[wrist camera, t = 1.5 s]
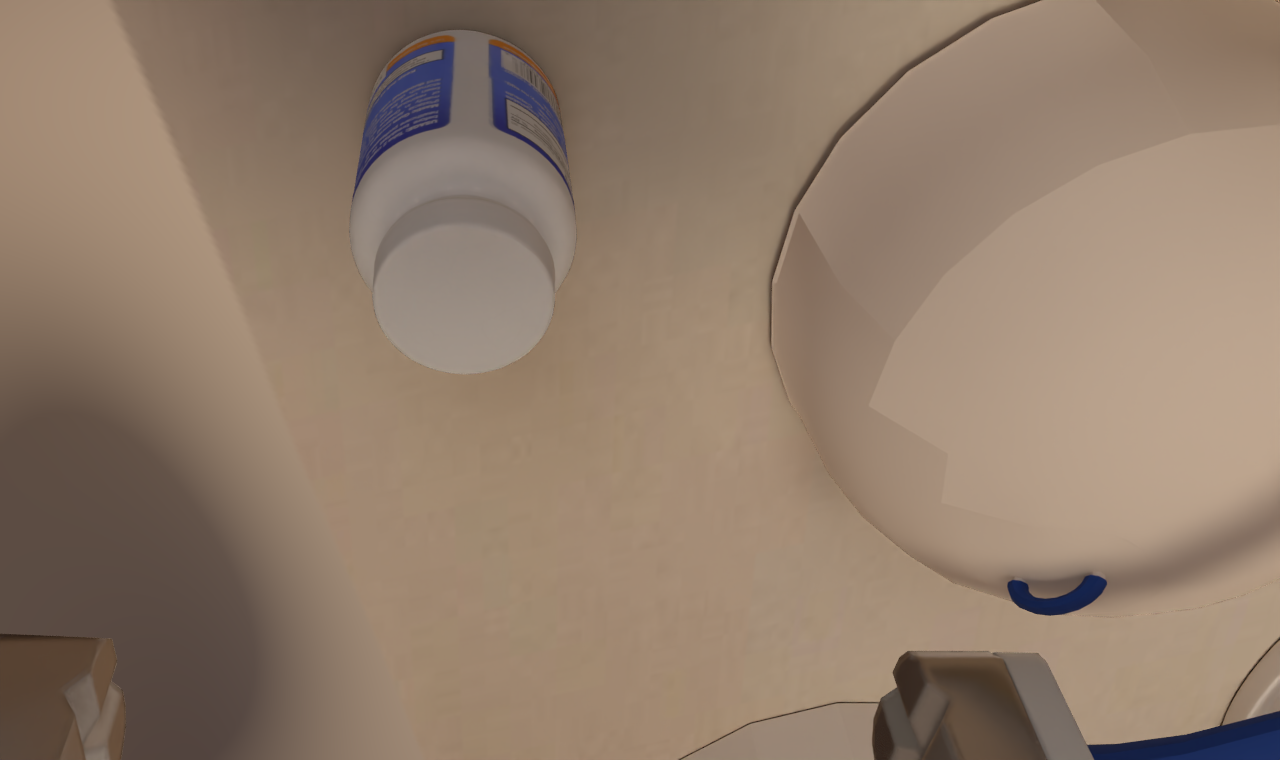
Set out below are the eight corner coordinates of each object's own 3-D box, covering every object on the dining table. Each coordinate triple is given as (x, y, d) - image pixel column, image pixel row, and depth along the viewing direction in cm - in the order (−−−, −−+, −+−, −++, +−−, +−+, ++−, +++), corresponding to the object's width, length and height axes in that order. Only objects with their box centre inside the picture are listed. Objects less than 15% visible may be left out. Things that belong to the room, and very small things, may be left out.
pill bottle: (370, 194, 34) (338, 400, 26) (366, 15, 31) (328, 191, 23) (554, 204, 35) (574, 407, 27) (569, 30, 31) (597, 205, 24)
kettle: (1457, 268, 40) (1988, 696, 26) (959, 569, 47) (1163, 1034, 33) (1239, -202, 29) (1936, 86, 15) (638, 277, 37) (738, 777, 22)
